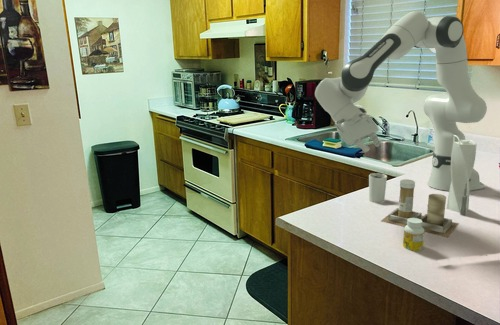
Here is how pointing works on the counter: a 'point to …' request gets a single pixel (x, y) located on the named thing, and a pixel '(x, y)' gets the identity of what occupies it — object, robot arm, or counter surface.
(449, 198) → the skyscraper
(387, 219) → the brown holder tray
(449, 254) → the counter surface
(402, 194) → the sprinkles bottle
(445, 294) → the counter surface
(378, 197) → the white and black cylinder
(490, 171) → the counter surface
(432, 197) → the birch pin
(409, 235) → the supplement bottle
